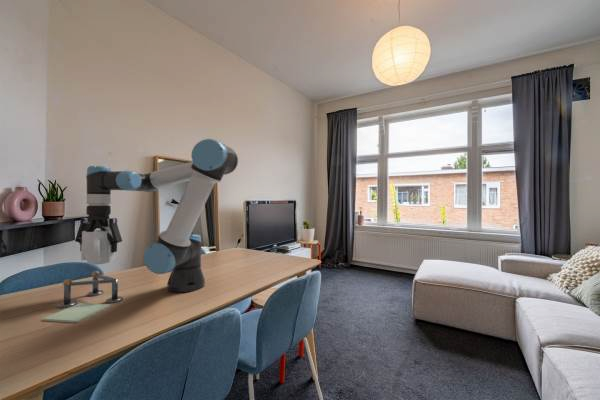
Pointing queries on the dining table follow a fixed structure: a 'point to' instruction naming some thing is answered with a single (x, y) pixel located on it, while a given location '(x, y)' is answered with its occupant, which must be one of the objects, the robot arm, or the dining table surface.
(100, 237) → the mug
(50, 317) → the pad
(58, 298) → the dining table surface
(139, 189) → the robot arm
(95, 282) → the small metal rack
